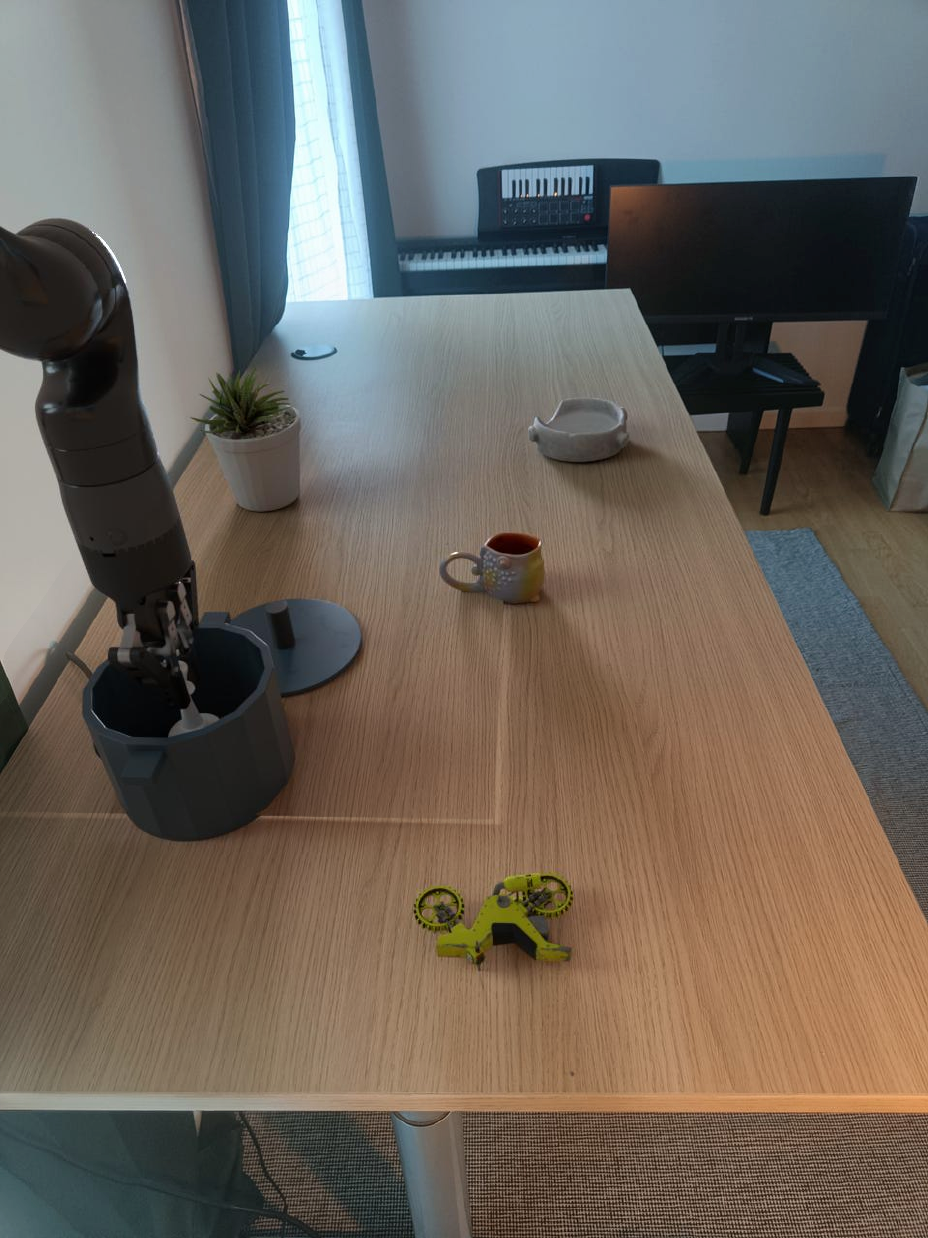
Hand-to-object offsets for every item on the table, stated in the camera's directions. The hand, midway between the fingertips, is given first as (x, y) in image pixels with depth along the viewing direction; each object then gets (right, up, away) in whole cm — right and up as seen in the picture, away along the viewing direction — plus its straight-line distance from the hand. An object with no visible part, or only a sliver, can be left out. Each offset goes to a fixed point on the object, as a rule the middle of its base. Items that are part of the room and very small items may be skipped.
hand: (182, 695), depth 74 cm
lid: (+5, +4, +20) cm, 20 cm away
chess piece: (0, -4, +3) cm, 5 cm away
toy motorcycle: (+26, -17, -9) cm, 33 cm away
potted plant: (-4, +23, +48) cm, 54 cm away
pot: (+1, -8, +6) cm, 10 cm away
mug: (+27, +10, +27) cm, 40 cm away
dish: (+42, +32, +56) cm, 77 cm away
